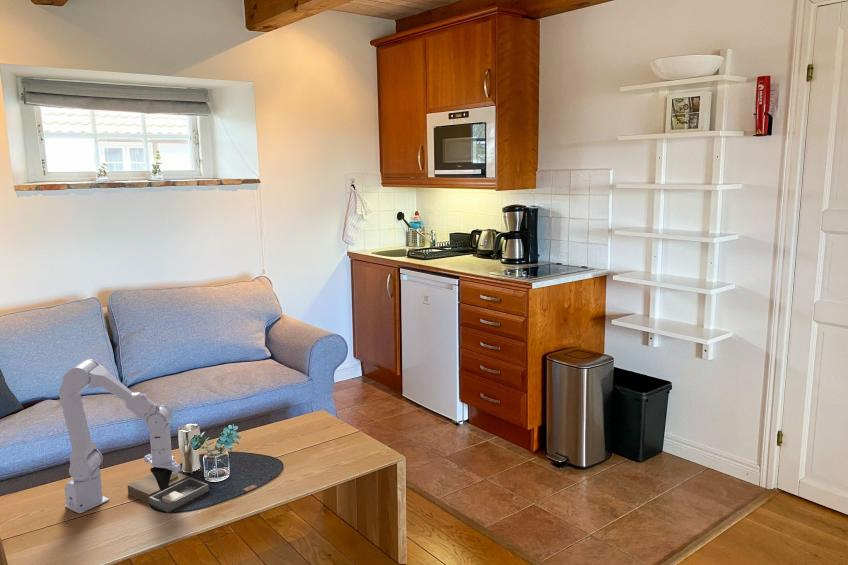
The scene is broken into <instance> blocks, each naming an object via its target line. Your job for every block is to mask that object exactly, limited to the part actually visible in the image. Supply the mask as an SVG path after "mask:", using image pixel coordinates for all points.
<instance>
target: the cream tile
mask: <svg viewBox="0 0 848 565" xmlns="http://www.w3.org/2000/svg"><path fill="white" fill-rule="evenodd" d="M182 496H184V495H183V494H181V493H178V492H176V491H174V492H172V493H170V494H168V495H166V496H163V497H162V501H163V502H165V503H170V502H172V501H174V500H176V499H178V498H180V497H182Z"/></svg>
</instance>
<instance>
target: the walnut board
mask: <svg viewBox="0 0 848 565" xmlns="http://www.w3.org/2000/svg"><path fill="white" fill-rule="evenodd" d="M188 478H189V476H188V475H187V474H184V473H181V472H178V477H175V478H173V479H171V480H170V481H169V486H168V488H169V487H171V486H173V485H175V484H177V483H179V482H181V481H184V480H186V479H188ZM161 491H163V490H160V488H159V486H158V483H157V480H156V478H155V476H154V475H153V473H152V474H150V475H147V476H145V477H143V478H141V479H138V480H136V481H134V482H131V483H129V484H128V485H127V494H128V495H130V496H132V497H134V498H137V499H139V500H141V501H143V502H145V503H148V504H149V497H150V496H152V495H154V494H156V493H158V492H161Z"/></svg>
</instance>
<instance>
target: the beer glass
mask: <svg viewBox="0 0 848 565" xmlns="http://www.w3.org/2000/svg"><path fill="white" fill-rule="evenodd" d="M177 433H178V434H177V436H178V447H179V451H180V455H181V459H182V461H181V462H182V466H181V472H182V471H183V472H193V471H196V470H198V469H200V467H201V468H202V466H201V462H200V452H201V451H200V449H201V447H200V448H199V449H197V450H193V448H192V446H191V444H190V440H191V439H192V438H193V437H194V435H200V436H201V431H200V426H199V425H198V424H196V423H195V424H194V423H187V424H184V425H181V426H179V427H178V432H177ZM200 470H201V469H200ZM183 472H182V473H183Z"/></svg>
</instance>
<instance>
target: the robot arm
mask: <svg viewBox="0 0 848 565" xmlns="http://www.w3.org/2000/svg"><path fill="white" fill-rule="evenodd" d="M86 386H87V388H88V389H96V388H97V389H98V388H102V389H104V390H105V391H107V392H108V393H110V394H112V395H114V396H115V397H116V398H118V399H119V400H121V401H122V402H124V404H125V408H126V409H127V410H129V411H130V412H132V414H134V415H136V416H137V417H139V418H140V419H141V420H143V421H144V422H145V426H146V427H147V429H148V430H149V441H150V443H149V444H150V453H149V454H146V455H144V456H143V457H144V462H145V463H149V464H150V465H151V466H152V467H151V468H150V472H151V473H152V474H153V475H154V476H155V478H156V480H157V483H158V486H159V488H160V490H165V489H167V488H168V486H169V481H170V477H171V474H172V472H173V473H177V472H178V473H180V472H182V469H181V464H179V463H178V462H177V461H176V460H175V458H176V457H175V455H173V454H172V440H171V430H170V429H171V428H170V421H171V418H172V412H171V410H170V409H169V408H168V406H166V405H164V404H163V405H160V404H159V403H156V402H154V401H153V400H152V399H150V398H149V397H148V394H146V393H144V392H143V393H142V392H140V391H139V392H133V391H132V390H131V389H129V388H128V387H127V386H125V384H123V382H121V381H120V380H118V379H117V378H116V377H115V376H113V375H112V374H111V373H109V371H108V370H107V369H106V368H105V366H104V365H102V364H99V362H98V361H96V360H95V359H91V358H85V359H84V360H81V361H80V363H78V364H77V365H75V366H74V367H72V368H70V369H69V370H68V371H66V373H65V374H64V375H63V376H62V382H61V384H60V387H59V390H58V396H59V400H60V405H61V409H62V413H63V417H64V421H65V425H66V429H67V433H68V437H69V441H70V446H71V451H70V456H69V463H70V464H69V469H68V473H69V476H70V477H71V478H72V479H71V480H70V481H69V482H66V483H65V485H64V496H65V504H64V507H65V508H67V509H69V510H71V511H73V512H75V513H77V514H79V515H80V514H82V513H85V512H87V511H89V510H91V509H93V508H95V507H98V506H100V505H103V504H104V503H106V502H109V501H110V499H109V497H106V496H104V495H103V487H102V477H101V476H102V475H101V474H102V473H101V469H100V465H101V464H102V463H103V460H104V459H103V458H104V457H103V454H102V453H101V452H100V450H99V449H98V447H97V444H96V443H94V442H93V441H92V438H91V433H90V428H89V424H88V420H87V417H86V413H85V408H84V403H83V400H82V396H81V393H82V391H83V390H84V389H85V388H86Z"/></svg>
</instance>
